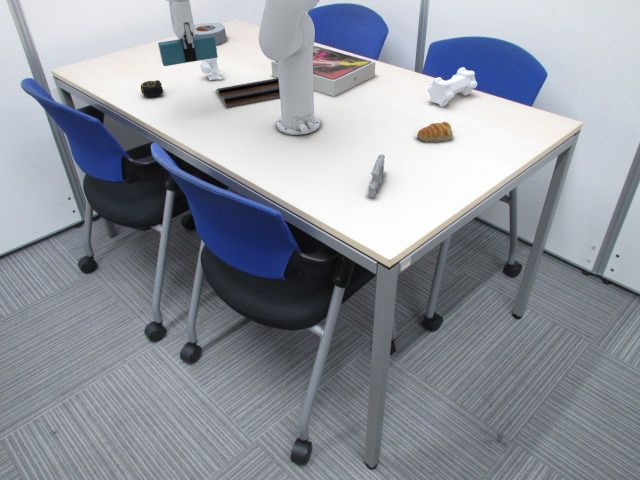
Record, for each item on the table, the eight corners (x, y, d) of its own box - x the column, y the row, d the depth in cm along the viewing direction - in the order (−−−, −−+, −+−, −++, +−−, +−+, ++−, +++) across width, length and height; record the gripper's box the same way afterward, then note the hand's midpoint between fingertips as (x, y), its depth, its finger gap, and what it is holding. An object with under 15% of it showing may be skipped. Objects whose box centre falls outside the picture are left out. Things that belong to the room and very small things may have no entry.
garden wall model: (374, 199, 124) (375, 177, 121) (367, 198, 125) (367, 176, 121) (384, 173, 133) (386, 152, 130) (377, 172, 134) (378, 151, 130)
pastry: (423, 145, 144) (424, 133, 141) (412, 135, 149) (413, 122, 146) (454, 140, 146) (456, 127, 143) (442, 129, 151) (443, 117, 149)
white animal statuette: (228, 78, 185) (223, 43, 177) (211, 84, 181) (206, 48, 174) (216, 72, 190) (210, 38, 182) (199, 77, 186) (193, 42, 179)
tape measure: (164, 97, 174) (162, 86, 172) (143, 100, 172) (140, 89, 170) (162, 89, 179) (160, 78, 177) (141, 92, 177) (139, 81, 175)
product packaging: (314, 58, 198) (313, 45, 195) (374, 76, 183) (375, 61, 180) (272, 76, 186) (271, 61, 183) (333, 96, 171) (333, 81, 168)
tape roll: (183, 46, 213) (180, 33, 210) (196, 34, 225) (194, 21, 221) (219, 47, 211) (218, 34, 207) (231, 35, 222) (229, 22, 219)
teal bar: (164, 66, 155) (159, 45, 151) (162, 63, 157) (157, 42, 153) (217, 57, 160) (214, 37, 156) (215, 54, 162) (212, 34, 158)
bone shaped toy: (454, 88, 173) (458, 63, 168) (476, 96, 168) (481, 71, 163) (424, 102, 166) (427, 76, 161) (446, 110, 160) (450, 84, 155)
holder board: (293, 95, 172) (292, 89, 171) (227, 108, 166) (226, 101, 165) (279, 80, 182) (279, 74, 181) (216, 91, 176) (215, 85, 175)
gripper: (159, -12, 152) (172, 52, 163) (169, 1, 140) (182, 70, 151) (185, -16, 154) (196, 48, 165) (197, -3, 142) (208, 66, 153)
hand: (189, 58), depth 158 cm, fingers closed on teal bar, 3 cm apart
